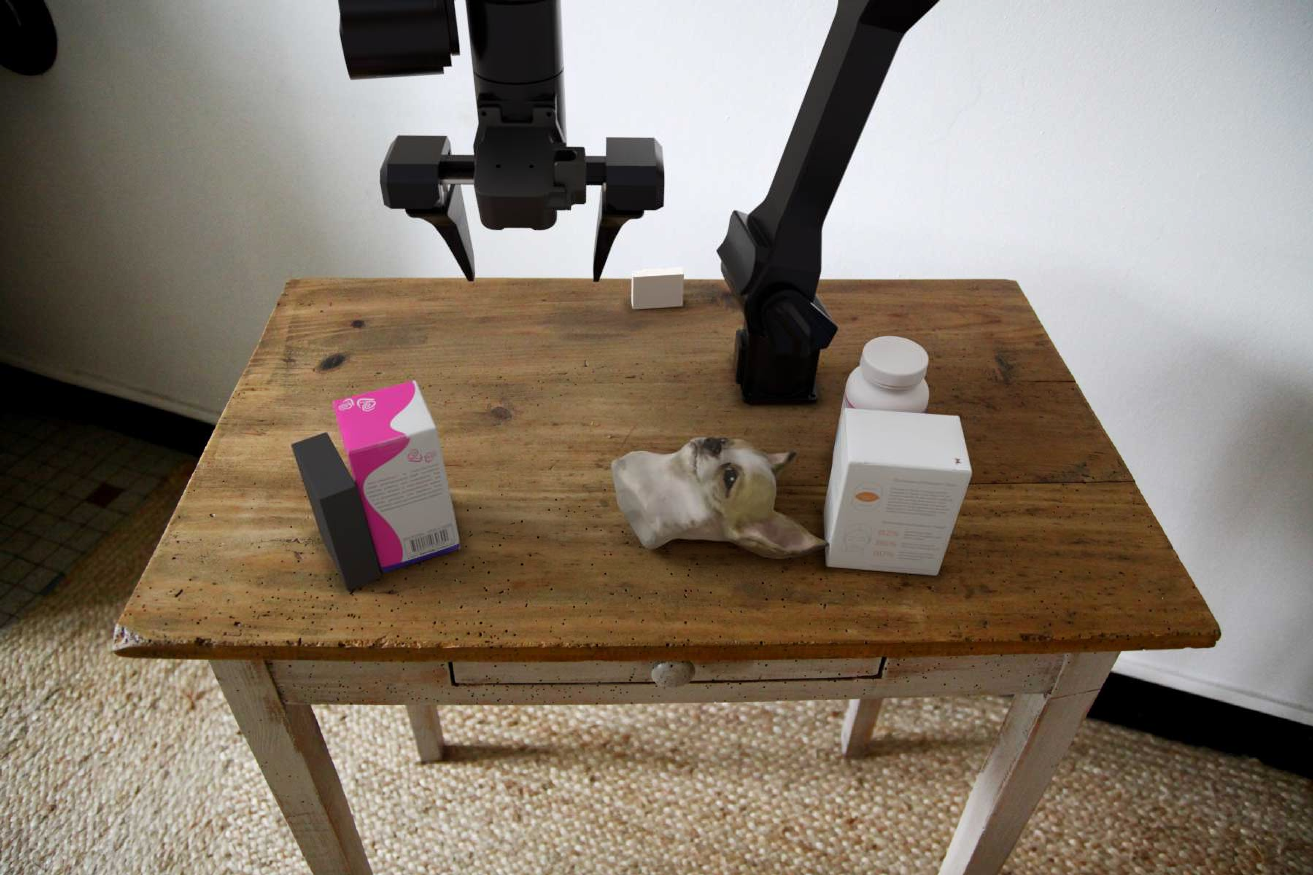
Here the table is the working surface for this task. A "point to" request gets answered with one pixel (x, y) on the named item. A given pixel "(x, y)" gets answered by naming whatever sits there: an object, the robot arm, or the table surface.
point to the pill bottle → (888, 378)
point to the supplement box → (399, 474)
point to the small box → (894, 490)
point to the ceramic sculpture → (710, 497)
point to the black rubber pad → (337, 510)
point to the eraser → (657, 288)
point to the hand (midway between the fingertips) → (534, 279)
